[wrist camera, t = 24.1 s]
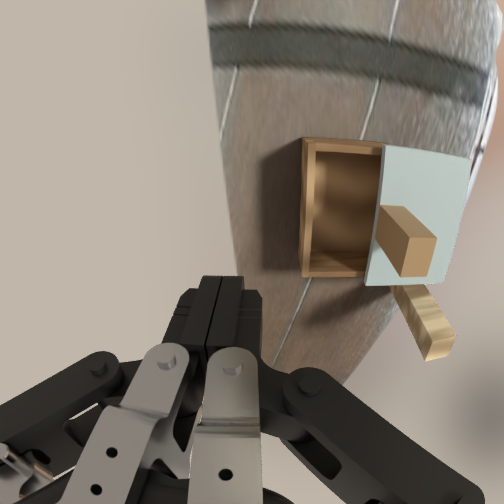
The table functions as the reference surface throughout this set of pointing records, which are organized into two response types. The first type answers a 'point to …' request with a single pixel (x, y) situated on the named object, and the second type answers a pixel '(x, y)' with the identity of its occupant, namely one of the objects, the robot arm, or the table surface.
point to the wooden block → (424, 320)
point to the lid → (416, 216)
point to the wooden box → (337, 205)
